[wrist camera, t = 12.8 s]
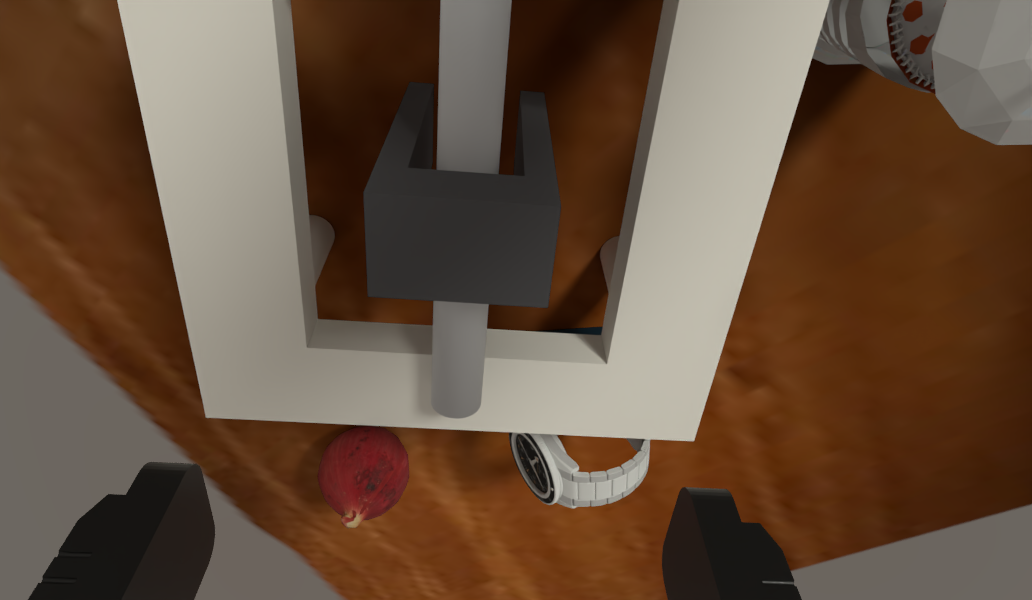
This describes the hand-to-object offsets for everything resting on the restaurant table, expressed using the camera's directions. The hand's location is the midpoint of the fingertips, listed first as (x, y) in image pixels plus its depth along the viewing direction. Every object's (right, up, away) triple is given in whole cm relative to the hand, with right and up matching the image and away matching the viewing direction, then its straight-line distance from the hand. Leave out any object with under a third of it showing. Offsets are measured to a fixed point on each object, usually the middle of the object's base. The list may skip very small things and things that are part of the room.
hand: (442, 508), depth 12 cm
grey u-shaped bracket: (0, +11, +18) cm, 21 cm away
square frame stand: (-1, +15, +24) cm, 28 cm away
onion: (-9, -6, +37) cm, 39 cm away
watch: (+5, -1, +34) cm, 35 cm away
